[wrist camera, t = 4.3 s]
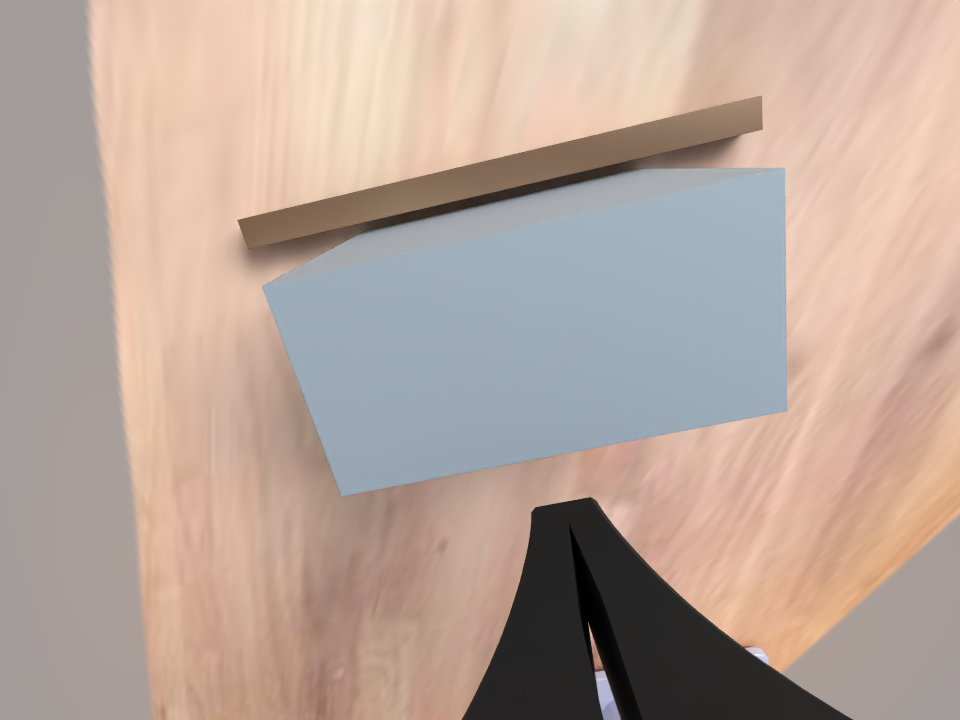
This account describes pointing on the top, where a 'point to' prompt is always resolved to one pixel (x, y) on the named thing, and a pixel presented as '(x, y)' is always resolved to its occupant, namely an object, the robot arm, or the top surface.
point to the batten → (505, 172)
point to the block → (542, 324)
